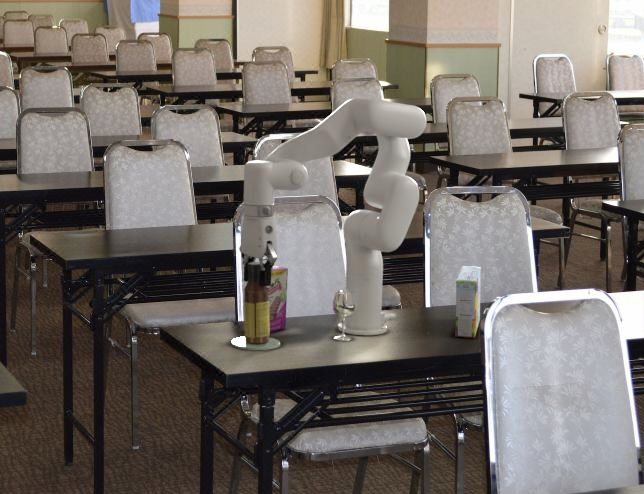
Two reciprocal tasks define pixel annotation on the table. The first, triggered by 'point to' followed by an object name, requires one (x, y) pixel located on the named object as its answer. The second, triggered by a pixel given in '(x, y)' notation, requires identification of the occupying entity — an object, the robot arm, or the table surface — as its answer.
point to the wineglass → (343, 308)
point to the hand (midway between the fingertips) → (257, 282)
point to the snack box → (468, 301)
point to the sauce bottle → (256, 308)
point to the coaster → (244, 344)
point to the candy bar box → (277, 298)
